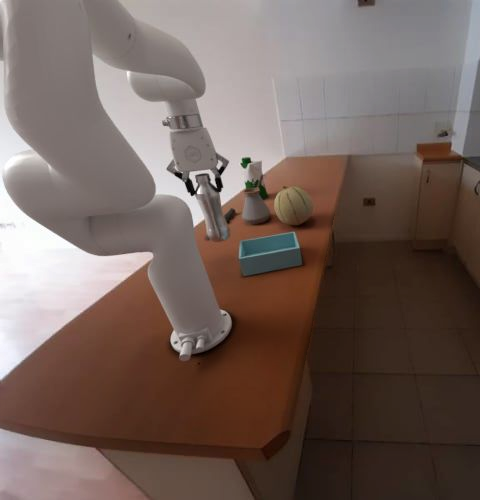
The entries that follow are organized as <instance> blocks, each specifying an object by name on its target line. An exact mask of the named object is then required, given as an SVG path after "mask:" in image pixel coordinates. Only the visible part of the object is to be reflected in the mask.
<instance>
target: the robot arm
mask: <svg viewBox="0 0 480 500" xmlns="http://www.w3.org/2000/svg"><path fill="white" fill-rule="evenodd" d="M94 56H95V57H96V59H98V60H100V61H101V62H102V63H104V64H106V65H108V66H110V67H111V68H115V69H118V70H123V71H126V79H127V83H128V86H130V88H131V90H132V91H133V93H134V94H135V95H137V96H138V97H139V98H140V99H142V100H144V101H146V102H149V103H150V102H151V103H157V102H158V103H159V102H161V103H162V106H163V109H164V113H165V115H166V117H165V118H166V119H163V120H161V122H162V123H161V124H162V126H163V127H168V128H169V130H170V131H168V132H167V134H168V142H169V146H170V150H171V154H172V160H171V161H170V162H169V164H168V166H167V167H166V171H167V172H168V173H170V174H172V175H174V177H176V178H178V179H179V180H181V181H182V182H183V183H184V185H185V188H186V192H187V193H188V194H189V195H190V196H191V197H195V190H196V188H195V185H194V183H193V180H192V179H191V178H190V173H191V172H199V171H208V170H210V171H211V173H212V174H213V175H214V183H215V187H216V188H217V190H218V192H219V193H222V190H223V189H224V184H223V180H222V175H223V174H224V172H225V170H226V169H227V167H228V165H229V164H230V160H229V159H227V158H226V157H224V156H222V155H221V154H220V153H218V152H216V148H215V145H214V142H213V140H212V137H211V135H210V133H209V130H208V129H207V127H205V126H204V124H203V120H202V117H201V113H200V109H199V105H198V101H197V99H200V98H201V97H203V96H204V94H205V92H206V89H207V88H206V85H207V84H206V78H205V75H204V73H203V70H202V68H201V66H200V64H199V63H198V61H197V59H196V58H195V56H194V55H193V54H192V51H190V49H189V48H188V47H187V46H186V44H185V43H183V41H181V40H180V39H179V38H178V37H176V36H174V35H172V34H170V33H168V32H166V31H164V30H162V29H160V28H158V27H155V26H153V25H151V24H149V23H147V22H145V21H143V20H140V19H137V18H135V17H133V15H132V14H131V13H130V12H129V10H128V9H127V8H126V7H125V6H124V5H123V4H122V3H121V1H120V0H0V62H3V104H4V105H3V106H4V111H5V114H6V117H7V120H8V122H9V124H10V126H11V127H12V129H13V131H14V132H15V133H16V134H17V135H18V136H19V137H20V138H21V140H22V141H23V142H24V143H26V145H28V146H29V147H30V148H31V149H28V150H22V151H20V152H18V153H15V154H13V156H11V157H9V159H8V160H6V162H5V164H4V165H3V169H2V176H1V177H2V182H3V185H4V189H5V190H6V193H7V195H8V197H10V199H11V201H12V202H13V203H14V204H15V206H16V207H17V208H18V209H19V210H20V211H21V212H22V213H23V214H25V215H26V216H27V217H29V218H30V219H32V220H33V221H34V222H36V223H37V224H39V225H40V226H42V227H43V228H45V229H47V230H49V232H52V233H53V234H55V235H57V236H58V237H60V238H62V239H63V240H64V241H66V242H68V243H70V244H71V245H73V246H75V247H76V248H77V249H79V250H81V251H83V252H85V253H87V254H89V255H93V256H97V257H113V256H120V255H121V256H122V255H128V254H137V253H151V254H152V259H151V261H150V263H149V265H148V267H147V278H148V280H149V282H150V284H151V286H152V288H153V290H154V293H155V294H156V296H157V299H158V301H159V302H160V304H161V307H162V309H163V310H164V312H165V315H166V317H167V318H168V321H169V322H170V325H171V326H172V328H173V331H172V333H171V335H170V344H171V346H172V349H173V350H175V351H176V352H177V353H179V357H178V359H179V361H181V362H188V361H189V360H190V359H191V356H192V355H196V354H200V353H203V352H206V351H209V350H211V349H213V348H215V347H216V346H217V345H219V344H220V343H221V342H223V341H224V340H225V339H226V337H227V336H228V335H229V333H230V332H231V331H232V330H231V329H232V326H233V321H232V318H231V315H230V314H229V313H228V312H227V311H226V310H223V309H220V306H219V303H218V301H217V298H216V295H215V292H214V289H213V286H212V284H211V281H210V278H209V276H208V275H209V274H208V273H207V270H206V267H205V265H204V262H203V258H202V256H201V252H200V249H199V247H198V246H199V245H198V243H197V237H196V232H195V226H194V219H193V214H192V211H191V208H190V207H189V204H187V202H186V201H184V200H183V199H182V198H180V197H178V196H176V195H171V194H165V193H164V194H163V193H160V194H157V193H156V191H157V190H156V189H157V187H156V186H157V185H156V182H155V179H154V176H153V175H152V173H151V172H150V170H149V169H148V167H147V165H146V164H145V163H144V161H143V160H142V159H141V158H140V156H139V155H138V153H137V152H136V150H135V149H134V147H132V145H131V144H130V143H129V141H128V140H127V139H126V138H125V136H124V135H123V133H122V132H121V130H120V129H119V128H118V127H117V126H116V124H115V123H114V121H113V119H112V118H111V117H110V115H109V114H108V112H107V111H106V109H105V108H104V105H103V103H102V101H101V98H100V95H99V91H98V87H97V83H96V75H95V65H94ZM219 162H221V163H222V164H221V165H220V167H219V168H218V167H217V166H218V164H219ZM175 167H176V168H175Z"/></svg>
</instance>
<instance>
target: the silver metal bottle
mask: <svg viewBox="0 0 480 500" xmlns="http://www.w3.org/2000/svg"><path fill="white" fill-rule="evenodd" d="M194 179H195V183H196V184H197V185H196V187H195V195H194V197H195V199H196V202H197V204H198V206H199V208H200V210H201V212H202V215H203V218H204V219H203V220H204V223H205V228H206V229H205V230H206V236H207V235H208V237H209V239H208V240H209V241H211V242H212V243H221V242H225V241H227V240H229V239H230V237H231V227H230V226H229V225H228V224H229V223H227V222H226V220H225V217H224V215H225V214H224V210H223V207H222V200H221V195H220V194H221V192H218V190H217V186H216V185H215V184H213V183H212V182H211V181H212V178H211V176H210V173H207V172H204V173H202V172H201V173H198V174H195V175H194Z"/></svg>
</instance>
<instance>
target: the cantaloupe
mask: <svg viewBox="0 0 480 500" xmlns="http://www.w3.org/2000/svg"><path fill="white" fill-rule="evenodd" d="M273 208H274V211H275V214H276V217H277V218H278V219H279V220H280V222H282V223H283V224H285V225H288V226H300V225H301V224H304V223H306V222H307V221H308V220H309V219H311V216H312V215H313V211H314V205H313V201H312V198H311V196H310V194H309V193H308V192H307V191H306V190H305V189H303V188H302V187H299V186H290V187H288V186H286V185H284V186H282V190H280V191H279V192H278V193H277V194H276V196H275V198H274V201H273Z"/></svg>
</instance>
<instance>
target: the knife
mask: <svg viewBox="0 0 480 500" xmlns="http://www.w3.org/2000/svg"><path fill="white" fill-rule="evenodd" d="M235 213H236V210H235V208H234V207H231V208H229V210H228V211H227V212H226V213H225V214H223V215H224V217H225V220H226V222H227V224H230V219H231V218H232V217H233V215H235ZM206 239H207V240H210V239H209V237H208V235H207V234H206Z"/></svg>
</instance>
